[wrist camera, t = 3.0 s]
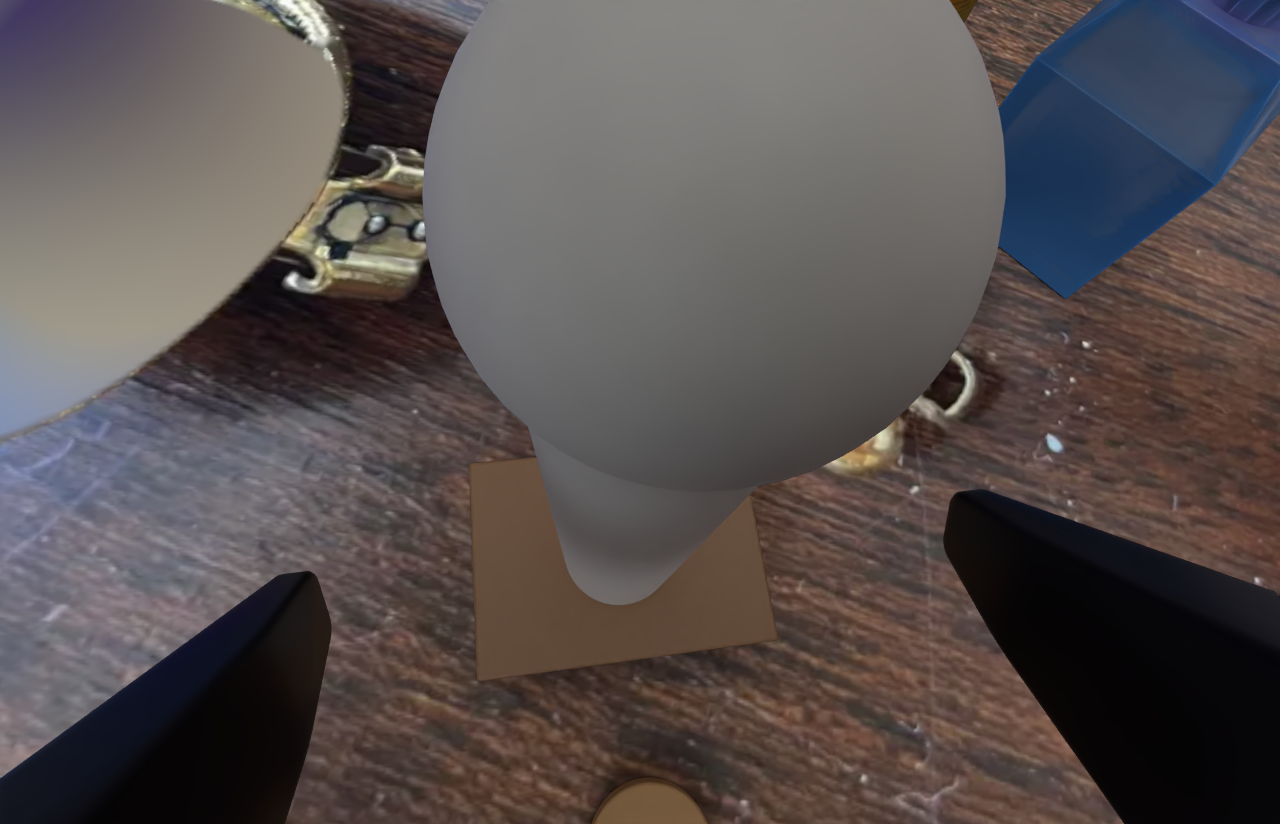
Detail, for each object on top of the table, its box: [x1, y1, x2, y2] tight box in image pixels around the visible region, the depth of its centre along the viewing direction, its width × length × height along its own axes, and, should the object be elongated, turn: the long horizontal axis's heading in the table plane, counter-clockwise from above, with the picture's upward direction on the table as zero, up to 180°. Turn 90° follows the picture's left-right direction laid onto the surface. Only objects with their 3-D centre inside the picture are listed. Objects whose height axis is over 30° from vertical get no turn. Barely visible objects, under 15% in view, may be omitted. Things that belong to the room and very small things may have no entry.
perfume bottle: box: [998, 0, 1280, 299], centre depth 20 cm, size 6×6×12 cm
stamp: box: [423, 0, 1006, 681], centre depth 11 cm, size 5×7×18 cm
